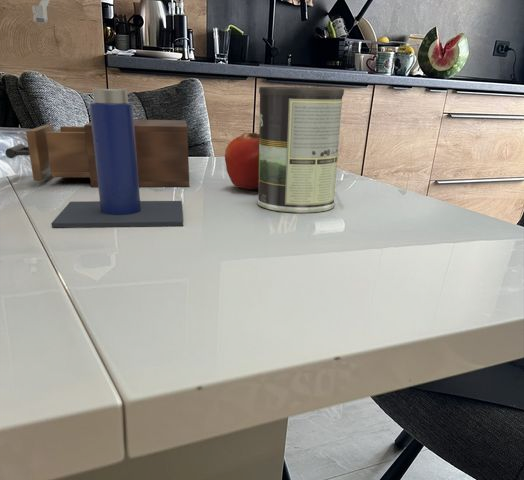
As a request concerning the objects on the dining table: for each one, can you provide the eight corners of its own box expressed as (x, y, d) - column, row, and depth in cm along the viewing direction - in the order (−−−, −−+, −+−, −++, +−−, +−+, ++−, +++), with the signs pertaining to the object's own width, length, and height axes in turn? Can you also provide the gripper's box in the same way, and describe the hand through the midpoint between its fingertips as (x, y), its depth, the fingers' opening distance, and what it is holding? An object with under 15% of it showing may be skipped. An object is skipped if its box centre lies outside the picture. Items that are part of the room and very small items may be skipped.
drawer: (3, 180, 80) (-6, 130, 77) (25, 167, 92) (18, 124, 89) (127, 180, 83) (122, 131, 80) (133, 167, 94) (129, 125, 91)
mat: (51, 227, 59) (51, 223, 58) (70, 205, 69) (70, 201, 69) (183, 225, 61) (183, 221, 60) (181, 204, 71) (181, 200, 71)
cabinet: (91, 187, 82) (84, 125, 78) (102, 172, 95) (96, 119, 91) (189, 186, 84) (187, 126, 80) (187, 172, 97) (185, 120, 93)
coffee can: (246, 209, 70) (246, 86, 63) (271, 195, 78) (274, 86, 72) (324, 216, 67) (333, 88, 60) (342, 201, 75) (351, 88, 69)
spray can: (98, 215, 62) (84, 89, 57) (103, 206, 67) (90, 88, 61) (139, 214, 63) (130, 90, 57) (141, 206, 67) (132, 89, 61)
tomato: (242, 182, 88) (242, 129, 85) (294, 188, 85) (296, 132, 81) (212, 191, 81) (211, 133, 77) (268, 197, 77) (270, 136, 74)
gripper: (68, -98, 70) (79, 27, 76) (-123, -134, 60) (-93, 13, 66) (80, -110, 65) (91, 25, 71) (-125, -152, 55) (-92, 8, 61)
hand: (1, 19), depth 69 cm, fingers open, 8 cm apart
